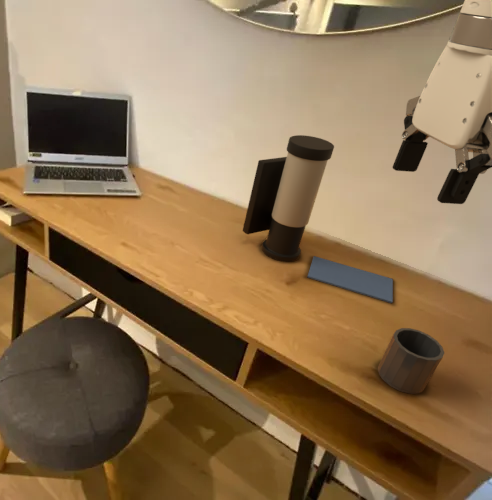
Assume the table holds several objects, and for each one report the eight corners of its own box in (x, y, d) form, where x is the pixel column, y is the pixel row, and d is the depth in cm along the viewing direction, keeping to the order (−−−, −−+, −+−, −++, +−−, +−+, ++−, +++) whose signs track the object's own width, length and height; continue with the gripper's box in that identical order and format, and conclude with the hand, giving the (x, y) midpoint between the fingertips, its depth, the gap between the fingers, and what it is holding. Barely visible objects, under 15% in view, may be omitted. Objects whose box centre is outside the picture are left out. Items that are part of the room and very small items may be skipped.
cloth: (392, 280, 97) (392, 278, 97) (391, 303, 90) (392, 301, 90) (313, 257, 103) (313, 255, 102) (307, 277, 95) (307, 275, 95)
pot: (408, 361, 77) (426, 328, 73) (434, 393, 71) (454, 360, 67) (369, 360, 76) (385, 327, 72) (392, 394, 70) (410, 359, 67)
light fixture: (272, 267, 98) (304, 152, 85) (239, 241, 106) (264, 133, 93) (314, 256, 103) (350, 147, 90) (279, 232, 111) (308, 129, 98)
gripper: (594, 55, 43) (502, 219, 52) (468, 30, 58) (413, 162, 67) (521, 47, 43) (440, 215, 51) (412, 24, 57) (364, 158, 66)
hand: (425, 185), depth 59 cm, fingers open, 9 cm apart
